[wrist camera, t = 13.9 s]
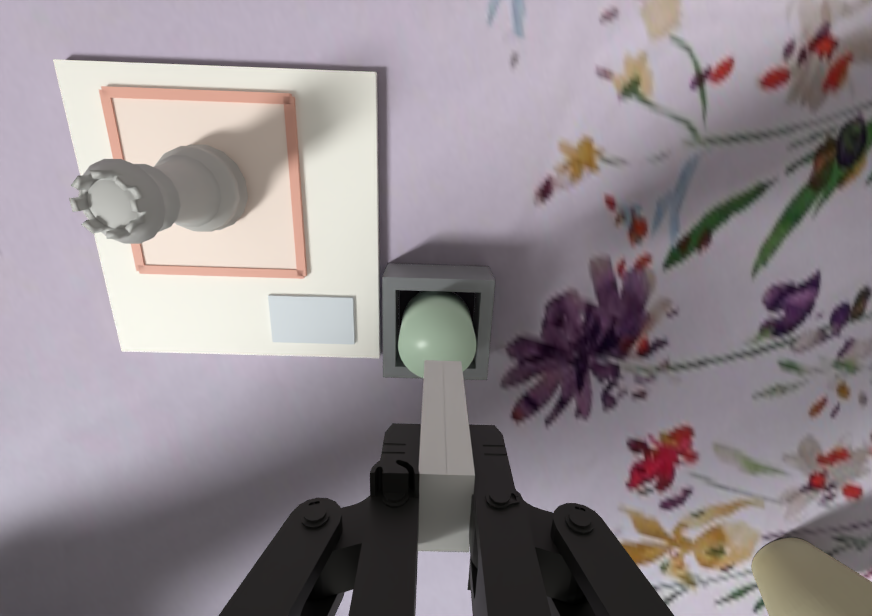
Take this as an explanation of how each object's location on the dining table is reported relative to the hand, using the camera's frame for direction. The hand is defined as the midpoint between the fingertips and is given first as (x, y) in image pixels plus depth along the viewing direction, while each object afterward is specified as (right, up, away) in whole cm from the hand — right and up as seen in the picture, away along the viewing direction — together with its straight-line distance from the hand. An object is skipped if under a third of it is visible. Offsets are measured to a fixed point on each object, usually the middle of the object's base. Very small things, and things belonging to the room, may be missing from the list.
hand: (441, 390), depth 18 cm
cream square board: (-11, +8, +7) cm, 16 cm away
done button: (0, +3, +8) cm, 8 cm away
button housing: (0, +3, +9) cm, 10 cm away
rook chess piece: (-12, +10, +6) cm, 17 cm away
